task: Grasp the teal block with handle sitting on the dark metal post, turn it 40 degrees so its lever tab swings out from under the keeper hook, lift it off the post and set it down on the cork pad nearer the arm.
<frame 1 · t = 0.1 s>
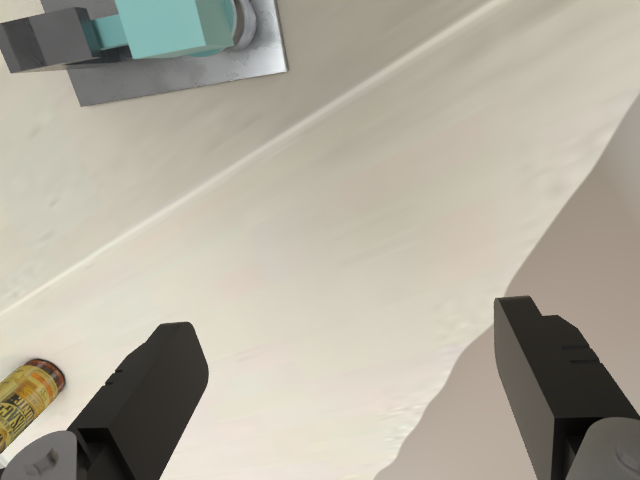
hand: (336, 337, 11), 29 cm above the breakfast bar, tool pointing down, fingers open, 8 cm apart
teal block with handle: (200, 15, 28), point 7 cm above the breakfast bar, touching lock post
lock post: (232, 21, 34), on the breakfast bar
sauce bottle: (46, 372, 56), on the breakfast bar
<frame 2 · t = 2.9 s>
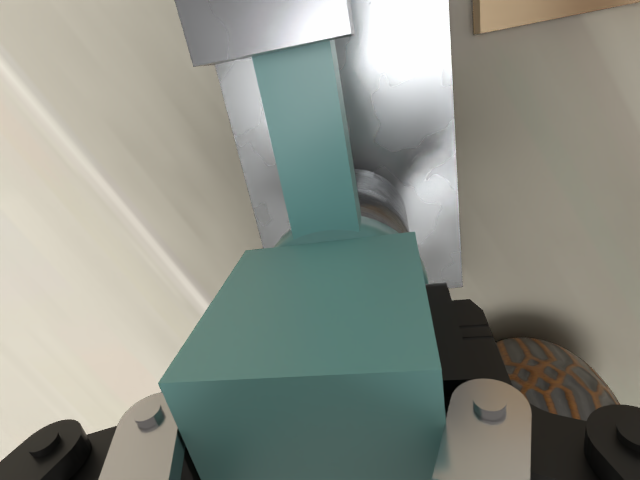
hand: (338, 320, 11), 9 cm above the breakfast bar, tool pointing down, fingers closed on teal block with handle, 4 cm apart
vase: (511, 365, 22), on the breakfast bar
teal block with handle: (343, 290, 13), point 7 cm above the breakfast bar, touching gripper, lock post
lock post: (355, 211, 19), on the breakfast bar
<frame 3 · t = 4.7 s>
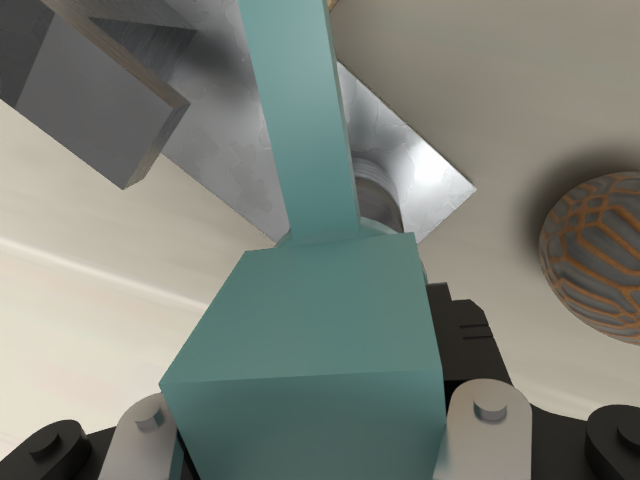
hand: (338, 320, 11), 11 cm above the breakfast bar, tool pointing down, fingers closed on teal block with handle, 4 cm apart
vase: (591, 222, 21), on the breakfast bar
teal block with handle: (343, 291, 13), point 10 cm above the breakfast bar, touching gripper
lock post: (353, 196, 22), on the breakfast bar
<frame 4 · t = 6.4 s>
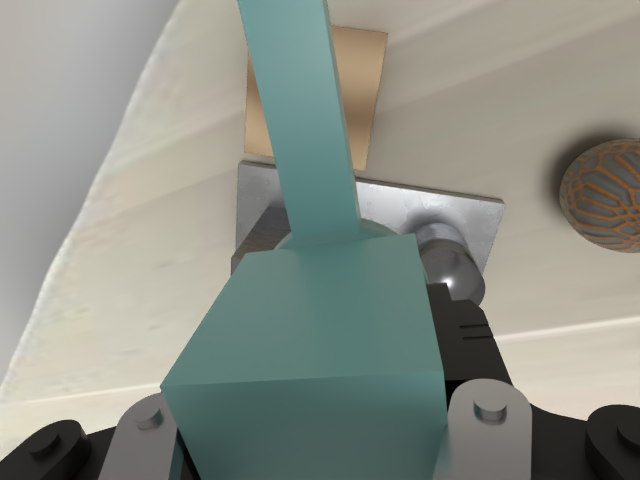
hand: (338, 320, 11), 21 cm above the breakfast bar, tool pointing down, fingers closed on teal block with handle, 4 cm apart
vase: (596, 178, 29), on the breakfast bar
cork pad: (312, 95, 29), on the breakfast bar
teal block with handle: (344, 292, 13), point 20 cm above the breakfast bar, touching gripper
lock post: (434, 244, 33), on the breakfast bar
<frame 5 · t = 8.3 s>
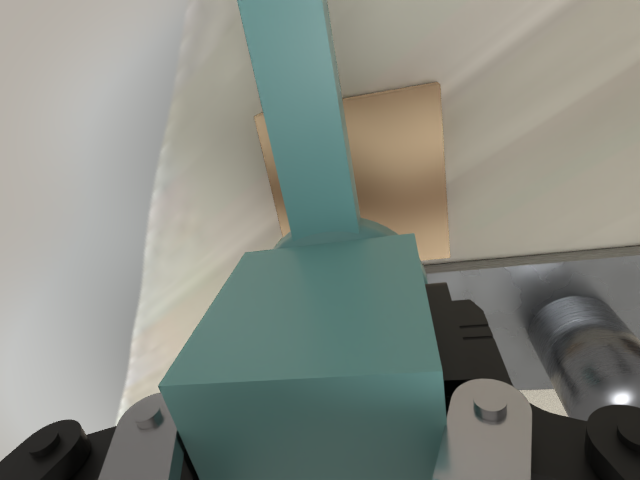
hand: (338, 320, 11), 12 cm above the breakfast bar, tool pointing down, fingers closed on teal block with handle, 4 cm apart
cork pad: (357, 183, 22), on the breakfast bar
teal block with handle: (343, 292, 13), point 11 cm above the breakfast bar, touching gripper
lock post: (565, 319, 24), on the breakfast bar
when the fingers open (4 cm above the breakfast bar, at t = 9.9 s): teal block with handle drops 2 cm, resting on cork pad.
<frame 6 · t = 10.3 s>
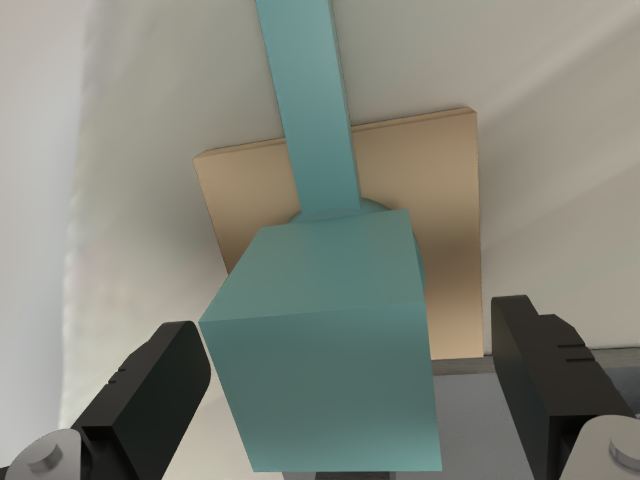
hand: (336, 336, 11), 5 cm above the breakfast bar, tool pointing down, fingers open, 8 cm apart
cork pad: (349, 249, 16), on the breakfast bar
teal block with handle: (346, 265, 14), point 1 cm above the breakfast bar, touching cork pad
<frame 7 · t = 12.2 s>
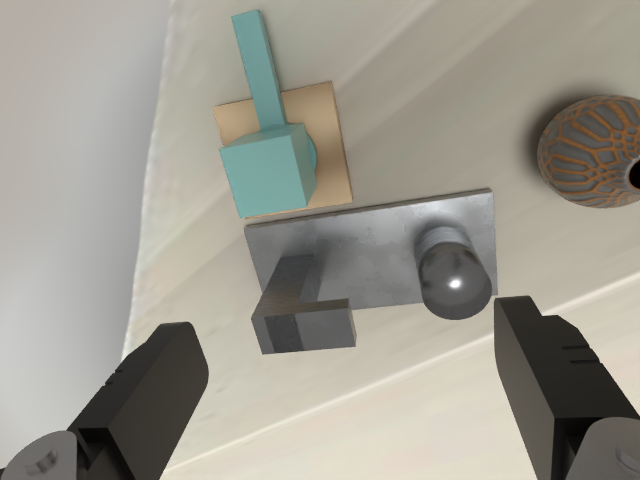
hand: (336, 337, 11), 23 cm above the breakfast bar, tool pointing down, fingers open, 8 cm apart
vase: (574, 141, 30), on the breakfast bar
cork pad: (287, 152, 32), on the breakfast bar
teal block with handle: (284, 156, 31), point 1 cm above the breakfast bar, touching cork pad
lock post: (441, 247, 34), on the breakfast bar
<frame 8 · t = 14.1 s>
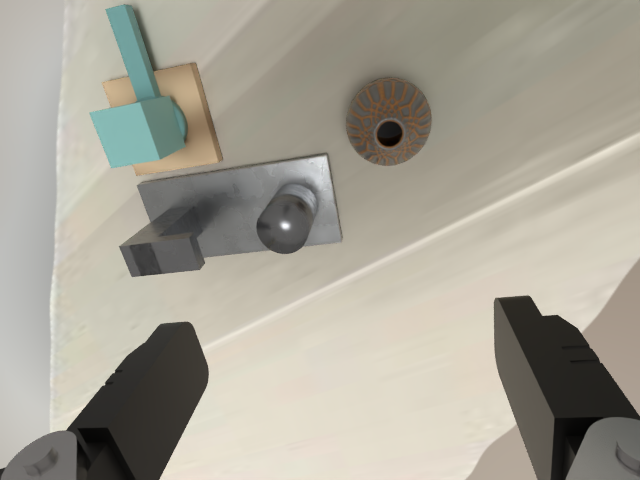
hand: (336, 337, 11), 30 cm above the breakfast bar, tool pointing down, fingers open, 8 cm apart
vase: (387, 115, 37), on the breakfast bar
cork pad: (167, 121, 40), on the breakfast bar
teal block with handle: (161, 123, 39), point 1 cm above the breakfast bar, touching cork pad
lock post: (296, 202, 42), on the breakfast bar
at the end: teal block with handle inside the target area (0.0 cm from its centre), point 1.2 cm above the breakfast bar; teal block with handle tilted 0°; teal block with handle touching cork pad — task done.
